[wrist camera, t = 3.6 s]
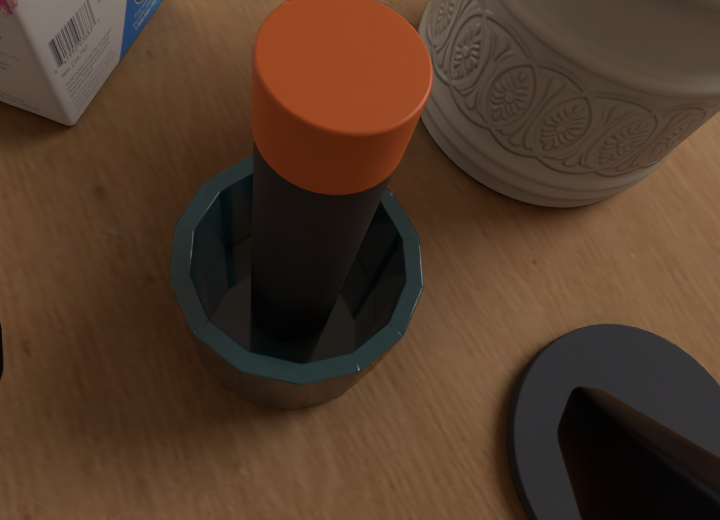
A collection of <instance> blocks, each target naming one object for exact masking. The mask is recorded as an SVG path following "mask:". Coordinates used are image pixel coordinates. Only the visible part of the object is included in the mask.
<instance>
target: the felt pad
mask: <svg viewBox="0 0 720 520" xmlns="http://www.w3.org/2000/svg"><path fill="white" fill-rule="evenodd" d="M577 386H583V387H592V388H598V389H601V390H603V391H605V392H607V393H608V394H610V395H612V396H614V397H615V398H617V399H619V400H621V401H622V402H624V403H626V404H628V405H629V406H631V407H633V408H634V409H636V410H638V411H640V412H641V413H643V414H645V415H647V416H648V417H650V418H652V419H654V420H655V421H657V422H659V423H660V424H662V425H664V426H666V427H667V428H669V429H671V430H673V431H674V432H676V433H678V434H680V435H681V436H683V437H685V438H687V439H688V440H690V441H692V442H693V443H695V444H697V445H699V446H700V447H702V448H704V449H706V450H707V451H709V452H711V453H713V454H714V455H716V456H718V457H720V386H719V385H718V383H717V382H716V381H715V380H714V379H713V377H712V376H711V375H710V374H709V373H708V372H707V371H706V370H705V369H704V368H703V367H702V366H701V365H700V364H699V363H698V362H697V361H696V360H695V359H694V358H692V357H691V356H690V355H689V354H687V353H686V352H685V351H683V350H682V349H681V348H679V347H678V346H676V345H674V344H673V343H671V342H669V341H668V340H666V339H664V338H662V337H660V336H658V335H655V334H653V333H651V332H648V331H645V330H642V329H639V328H636V327H630V326H625V325H617V324H600V325H591V326H587V327H583V328H579V329H576V330H574V331H571V332H569V333H566V334H564V335H563V336H561V337H559V338H557V339H556V340H554V341H552V342H551V343H549V344H548V345H547V346H545V347H544V348H543V349H542V350H541V351H540V352H539V353H537V355H536V356H535V357H534V358H533V359H532V361H531V362H530V363H529V364H528V366H527V367H526V369H525V371H524V372H523V374H522V375H521V377H520V379H519V382H518V384H517V386H516V389H515V391H514V395H513V398H512V402H511V406H510V411H509V418H508V437H507V443H508V453H509V461H510V466H511V470H512V475H513V479H514V482H515V485H516V488H517V491H518V494H519V497H520V499H521V502H522V504H523V506H524V508H525V510H526V512H527V514H528V516H529V518H530V520H581V517H580V514H579V511H578V507H577V504H576V501H575V497H574V494H573V491H572V487H571V484H570V481H569V477H568V474H567V471H566V467H565V464H564V460H563V457H562V454H561V450H560V447H559V444H558V439H557V429H558V424H559V421H560V419H561V416H562V413H563V411H564V408H565V405H566V403H567V400H568V397H569V395H570V393H571V391H572V390H573V389H574V388H576V387H577Z"/></svg>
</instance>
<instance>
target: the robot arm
mask: <svg viewBox="0 0 720 520" xmlns="http://www.w3.org/2000/svg"><path fill="white" fill-rule="evenodd" d="M2 373H3V345H2V328H1V324H0V379H1V377H2ZM557 439H558V444H559V447H560V450H561V454H562V457H563V460H564V464H565V467H566V471H567V474H568V477H569V481H570V484H571V487H572V491H573V494H574V497H575V501H576V504H577V507H578V511H579V514H580V517H581V520H720V457H718V456H716V455H714V454H713V453H711V452H709V451H707V450H706V449H704V448H702V447H700V446H699V445H697V444H695V443H693V442H692V441H690V440H688V439H687V438H685V437H683V436H681V435H680V434H678V433H676V432H674V431H673V430H671V429H669V428H667V427H666V426H664V425H662V424H660V423H659V422H657V421H655V420H654V419H652V418H650V417H648V416H647V415H645V414H643V413H641V412H640V411H638V410H636V409H634V408H633V407H631V406H629V405H628V404H626V403H624V402H622V401H621V400H619V399H617V398H615V397H614V396H612V395H610V394H608V393H607V392H605V391H603V390H601V389H598V388H592V387H583V386H577V387H576V388H574V389H573V390H572V391H571V393H570V395H569V397H568V400H567V403H566V405H565V408H564V411H563V413H562V416H561V419H560V421H559V424H558V429H557Z"/></svg>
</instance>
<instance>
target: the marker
mask: <svg viewBox="0 0 720 520" xmlns="http://www.w3.org/2000/svg"><path fill="white" fill-rule="evenodd" d="M432 84H433V68H432V62H431V58H430V55H429V52H428V50H427V47H426V45H425V43H424V42H423V40H422V38H421V37H420V35H419V34H418V33H417V31H416V30H415V29H414V28H413V27H412V26H411V25H410V23H409V22H407V21H406V20H405V19H404V18H403V17H402V16H400V15H399V14H398V13H396V12H395V11H393V10H392V9H390V8H388V7H387V6H385V5H383V4H381V3H379V2H377V1H374V0H288V1H286V2H285V3H283V4H281V5H280V6H278V7H277V8H276V9H274V10H273V11H272V12H271V13H270V14H269V15H268V16H267V17H266V19H265V20H264V22H263V23H262V24H261V26H260V27H259V29H258V32H257V34H256V36H255V40H254V44H253V52H252V132H253V136H254V157H253V211H252V264H251V311H252V315H253V317H254V320H255V322H256V323H257V325H258V326H259V328H260V329H261V330H262V331H263V332H265V333H266V334H267V335H269V336H270V337H272V338H274V339H276V340H279V341H283V342H300V341H304V340H307V339H309V338H311V337H313V336H314V335H316V334H317V333H318V332H319V331H321V329H322V328H323V327H324V326H325V324H326V323H327V321H328V318H329V316H330V314H331V312H332V309H333V307H334V305H335V303H336V300H337V298H338V296H339V293H340V291H341V289H342V287H343V284H344V282H345V280H346V278H347V275H348V273H349V271H350V268H351V266H352V264H353V262H354V259H355V257H356V255H357V252H358V250H359V248H360V246H361V243H362V241H363V239H364V237H365V234H366V232H367V230H368V227H369V225H370V223H371V221H372V218H373V216H374V214H375V211H376V209H377V207H378V205H379V202H380V200H381V198H382V196H383V193H384V191H385V189H386V186H387V184H388V182H389V180H390V177H391V175H392V173H393V171H394V170H395V169H396V167H397V166H398V164H399V163H400V161H401V158H402V156H403V154H404V152H405V149H406V147H407V145H408V143H409V141H410V138H411V136H412V134H413V132H414V129H415V127H416V125H417V123H418V120H419V118H420V116H421V114H422V111H423V109H424V107H425V105H426V102H427V100H428V98H429V96H430V93H431V89H432Z"/></svg>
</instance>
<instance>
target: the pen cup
mask: <svg viewBox="0 0 720 520" xmlns="http://www.w3.org/2000/svg"><path fill="white" fill-rule="evenodd" d="M253 157H254V155H252V156H251V157H250V156H248V157H246V158H245V159H243V160H241V161H240V162H238V163H236V164H234V165H233V166H231V167H229V168H227V169H226V170H224V171H222V172H220V173H219V174H217V175H215V176H214V177H212V178H210V179H208V180H207V181H206V182H204V183H203V184H202V186H201V187H200V189H199V190H198V192H197V193H196V195H195V196H194V198H193V199H192V201H191V202H190V204H189V205H188V206H187V208H186V209H185V211H184V212H183V214H182V215H181V217H180V218H179V220H178V221H177V223H176V224H175V227H174V236H173V246H172V256H171V265H170V275H169V279H170V284H171V287H172V290H173V292H174V295H175V298H176V301H177V304H178V307H179V310H180V313H181V315H182V318H183V321H184V324H185V327H186V329H187V331H188V334H189V336H190V338H191V341H192V343H193V346H194V348H195V350H196V352H197V355H198V357H199V359H200V362H201V364H202V366H204V369H205V370H207V371H208V372H209V373H210V374H211V375H212V376H213V377H214V378H215V379H216V380H217V381H218V382H219V383H220V384H221V385H223V386H224V387H225V388H226V389H227V390H229V391H231V392H232V393H234V394H235V395H237V396H239V397H240V398H242V399H245V400H247V401H250V402H252V403H255V404H259V405H262V406H266V407H272V408H279V409H297V408H305V407H310V406H314V405H318V404H322V403H324V402H327V401H329V400H333V399H337V398H338V397H340V396H341V395H342V394H344V393H345V392H346V391H347V390H349V389H350V388H351V387H352V386H354V385H355V384H356V383H357V382H358V381H359V380H360V379H362V378H363V377H364V376H365V375H366V374H368V373H369V372H370V371H371V370H372V369H373V368H374V367H375V366H376V365H377V364H378V363H379V362H380V361H381V360H382V359H383V358H384V356H385V355H386V354H387V353H388V352H389V351H390V350H391V349H392V348H393V347H394V346H395V345H396V344H397V343H398V341H399V340H400V339H401V338H402V337H403V335H404V334H405V332H406V330H407V327H408V325H409V322H410V320H411V317H412V315H413V313H414V310H415V308H416V305H417V303H418V301H419V298H420V296H421V293H422V291H423V286H424V284H423V272H422V261H421V249H420V239H419V235H418V233H417V232H416V230H415V228H414V227H413V225H412V223H411V221H410V220H409V218H408V216H407V215H406V213H405V211H404V209H403V208H402V206H401V204H400V203H399V201H398V199H397V197H396V196H395V194H393V192H392V191H390V190H389V189H388V188H386V189H385V191H384V193H383V196H382V198H381V200H380V202H379V205H378V207H377V209H376V211H375V214H374V216H373V218H372V221H371V223H370V225H369V227H368V230H367V232H366V234H365V237H364V239H363V241H362V243H361V246H360V248H359V250H358V252H357V255H356V257H355V259H354V262H353V264H352V266H351V268H350V271H349V273H348V275H347V278H346V280H345V282H344V284H343V287H342V289H341V291H340V293H339V296H338V298H337V300H336V303H335V305H334V307H333V309H332V312H331V314H330V316H329V318H328V321H327V323H326V324H325V326H324V327H323V328H322V329H321V331H319V332H318V333H317V334H316V335H314V336H313V337H311V338H309V339H307V340H304V341H300V342H283V341H279V340H276V339H274V338H272V337H270V336H269V335H267V334H266V333H265V332H263V331H262V330H261V329H260V328H259V326H258V325H257V323H256V322H255V320H254V317H253V315H252V311H251V264H252V211H253Z"/></svg>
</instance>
